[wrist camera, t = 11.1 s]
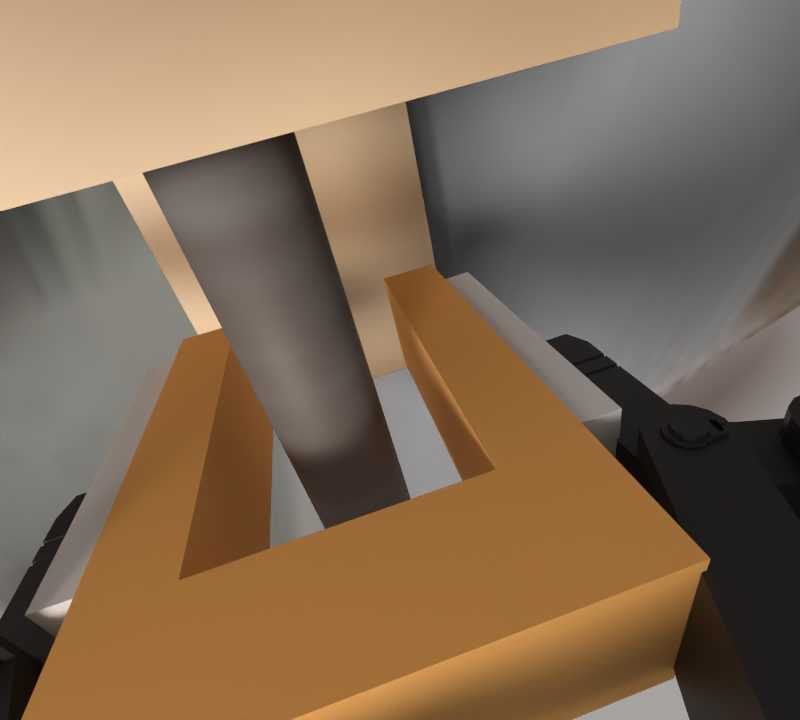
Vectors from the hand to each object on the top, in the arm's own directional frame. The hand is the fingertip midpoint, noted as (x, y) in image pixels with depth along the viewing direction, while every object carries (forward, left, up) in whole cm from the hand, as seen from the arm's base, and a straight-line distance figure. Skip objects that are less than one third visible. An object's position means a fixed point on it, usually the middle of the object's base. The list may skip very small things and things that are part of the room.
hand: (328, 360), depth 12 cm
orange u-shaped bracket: (0, 0, -1) cm, 1 cm away
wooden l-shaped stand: (-3, 0, -8) cm, 8 cm away
